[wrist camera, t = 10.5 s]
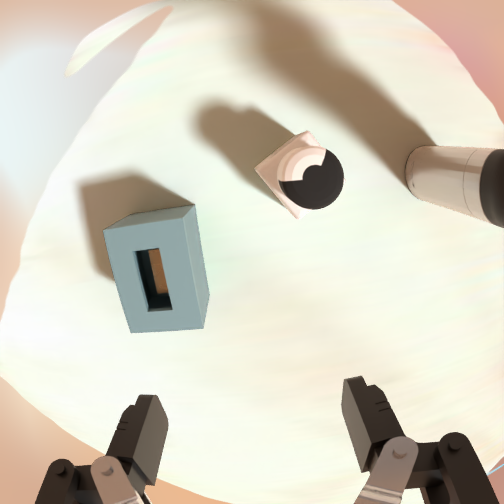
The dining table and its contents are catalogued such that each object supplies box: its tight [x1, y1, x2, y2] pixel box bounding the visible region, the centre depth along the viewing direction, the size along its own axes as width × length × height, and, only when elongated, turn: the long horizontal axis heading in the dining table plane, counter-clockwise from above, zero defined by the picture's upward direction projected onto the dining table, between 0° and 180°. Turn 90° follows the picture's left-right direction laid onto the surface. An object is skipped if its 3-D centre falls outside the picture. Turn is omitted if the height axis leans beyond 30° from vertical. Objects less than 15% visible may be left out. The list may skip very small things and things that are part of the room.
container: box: [254, 131, 346, 219], centre depth 34 cm, size 8×8×13 cm
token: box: [148, 248, 169, 294], centre depth 39 cm, size 2×6×6 cm, turn 5°
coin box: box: [103, 205, 210, 333], centre depth 38 cm, size 10×14×10 cm
